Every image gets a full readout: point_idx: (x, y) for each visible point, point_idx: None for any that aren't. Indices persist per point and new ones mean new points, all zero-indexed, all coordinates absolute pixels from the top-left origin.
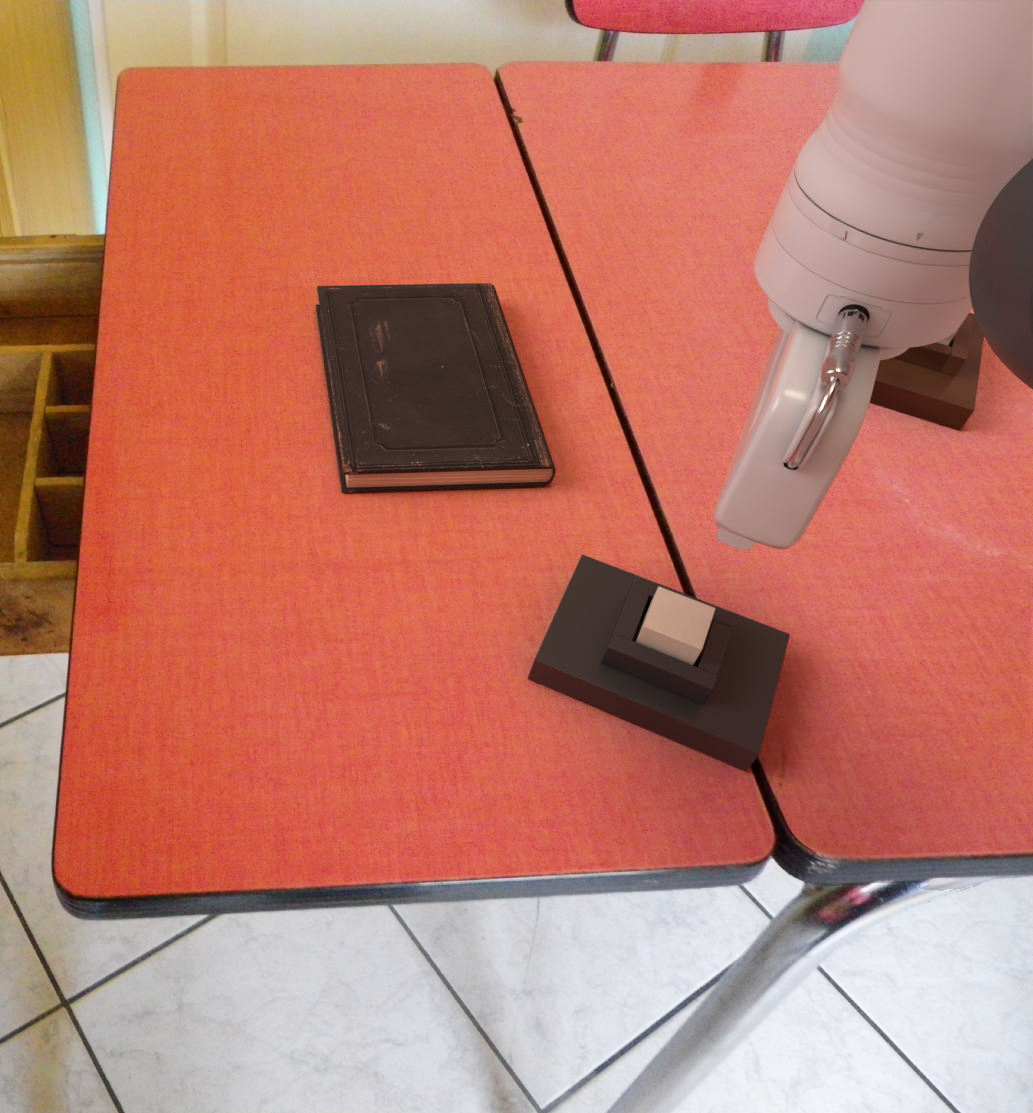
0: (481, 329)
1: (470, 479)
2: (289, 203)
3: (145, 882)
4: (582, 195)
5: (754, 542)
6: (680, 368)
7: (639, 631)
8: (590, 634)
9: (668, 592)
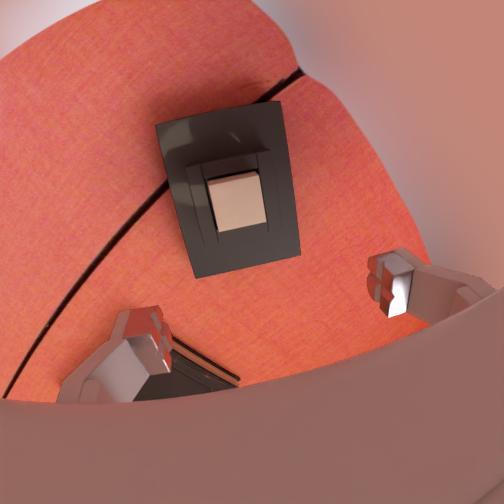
0: None
1: (183, 349)
2: None
3: None
4: None
5: (410, 253)
6: (6, 301)
7: None
8: (258, 238)
9: (220, 223)
